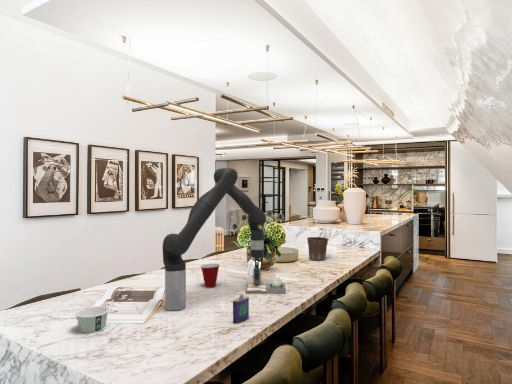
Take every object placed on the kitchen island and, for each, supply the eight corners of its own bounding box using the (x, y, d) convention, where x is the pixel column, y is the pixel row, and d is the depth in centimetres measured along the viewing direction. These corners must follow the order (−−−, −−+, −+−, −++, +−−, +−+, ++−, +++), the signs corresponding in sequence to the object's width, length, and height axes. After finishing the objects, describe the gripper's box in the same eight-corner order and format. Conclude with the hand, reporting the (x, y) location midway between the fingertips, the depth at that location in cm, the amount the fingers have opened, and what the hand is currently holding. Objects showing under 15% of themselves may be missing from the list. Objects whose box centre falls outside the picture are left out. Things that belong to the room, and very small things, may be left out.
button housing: (285, 294, 185) (285, 288, 185) (267, 293, 185) (267, 288, 185) (284, 289, 194) (284, 283, 194) (267, 288, 194) (267, 283, 194)
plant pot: (331, 258, 278) (331, 237, 278) (323, 262, 264) (323, 240, 264) (312, 256, 287) (312, 236, 286) (303, 260, 273) (303, 238, 273)
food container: (70, 328, 140) (70, 311, 140) (101, 320, 148) (101, 304, 148) (81, 337, 131) (81, 319, 131) (114, 328, 140) (114, 311, 140)
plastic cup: (207, 282, 207) (207, 261, 207) (223, 285, 202) (223, 263, 202) (196, 287, 197) (196, 265, 197) (212, 289, 192) (212, 267, 192)
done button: (281, 289, 187) (281, 282, 187) (271, 289, 187) (271, 282, 187) (281, 287, 192) (281, 279, 192) (271, 287, 192) (271, 279, 192)
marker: (260, 286, 197) (260, 265, 197) (253, 285, 197) (253, 265, 197) (260, 284, 201) (260, 264, 201) (253, 283, 201) (253, 264, 201)
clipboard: (267, 293, 186) (267, 290, 186) (245, 293, 186) (245, 290, 186) (267, 285, 202) (267, 282, 202) (247, 285, 202) (247, 282, 202)
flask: (245, 316, 153) (245, 291, 152) (251, 317, 151) (251, 292, 151) (231, 322, 145) (231, 296, 145) (237, 324, 143) (237, 297, 143)
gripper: (263, 250, 191) (263, 280, 192) (264, 246, 206) (263, 274, 206) (249, 250, 192) (249, 280, 192) (250, 246, 206) (250, 274, 206)
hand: (257, 277), depth 199 cm, fingers open, 8 cm apart
